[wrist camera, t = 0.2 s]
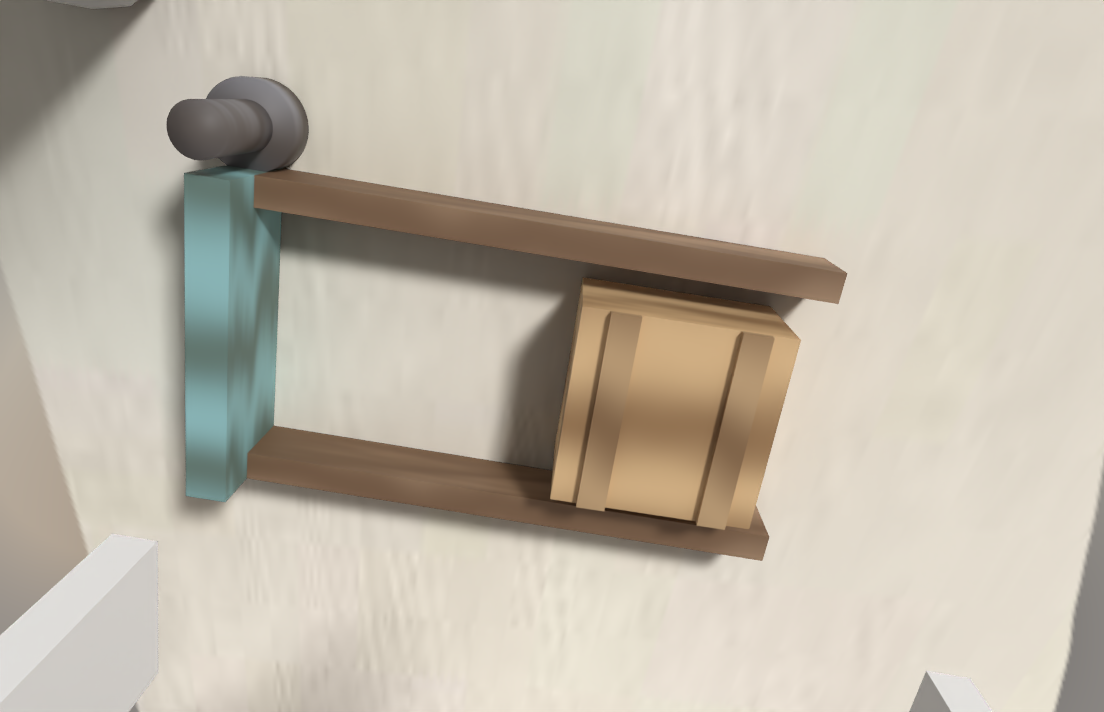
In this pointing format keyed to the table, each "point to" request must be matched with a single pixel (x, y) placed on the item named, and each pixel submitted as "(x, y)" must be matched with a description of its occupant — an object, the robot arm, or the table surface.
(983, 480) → the table surface
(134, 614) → the robot arm
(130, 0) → the water bottle
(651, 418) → the crate
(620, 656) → the table surface
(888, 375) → the table surface
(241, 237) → the bay
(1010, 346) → the table surface
